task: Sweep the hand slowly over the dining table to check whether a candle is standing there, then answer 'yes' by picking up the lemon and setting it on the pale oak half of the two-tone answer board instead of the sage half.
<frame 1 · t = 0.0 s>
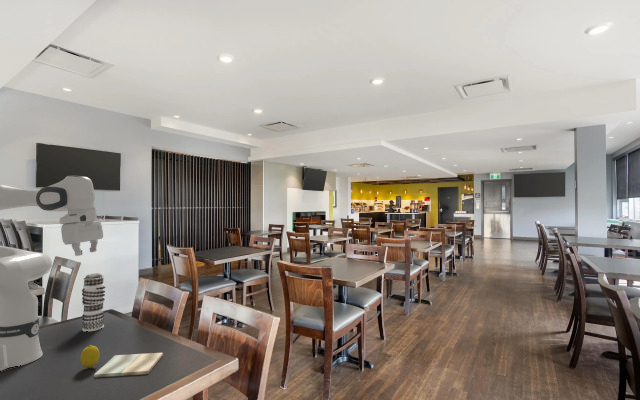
hand: (86, 253, 125), 39 cm above the table, tool pointing down, fingers open, 8 cm apart
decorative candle: (93, 328, 153), on the table
answer board: (130, 365, 117), on the table
lemon: (89, 368, 115), on the table
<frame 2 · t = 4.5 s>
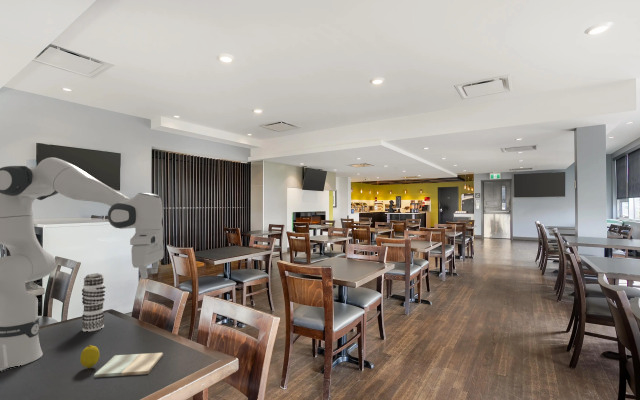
hand: (149, 275, 118), 32 cm above the table, tool pointing down, fingers open, 8 cm apart
nothing on the table moved.
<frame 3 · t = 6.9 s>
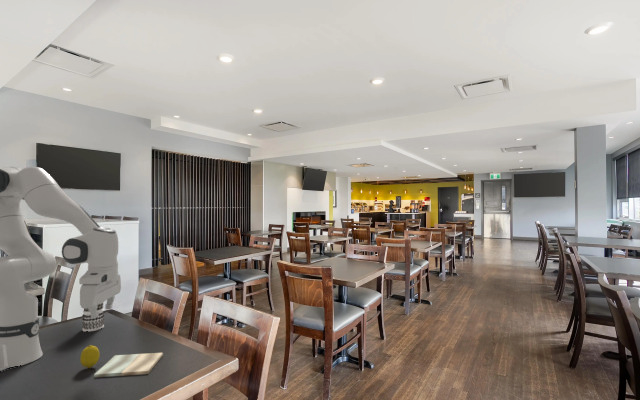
hand: (102, 313, 115), 19 cm above the table, tool pointing down, fingers open, 8 cm apart
nothing on the table moved.
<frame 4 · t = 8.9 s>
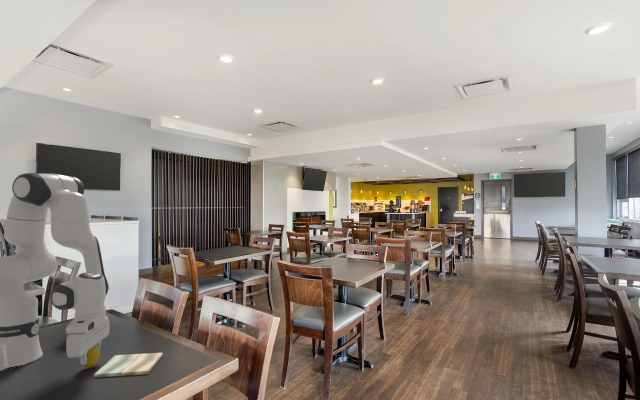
hand: (90, 359, 115), 3 cm above the table, tool pointing down, fingers closed on lemon, 6 cm apart
lemon: (89, 368, 115), on the table, touching gripper
everything else where it was.
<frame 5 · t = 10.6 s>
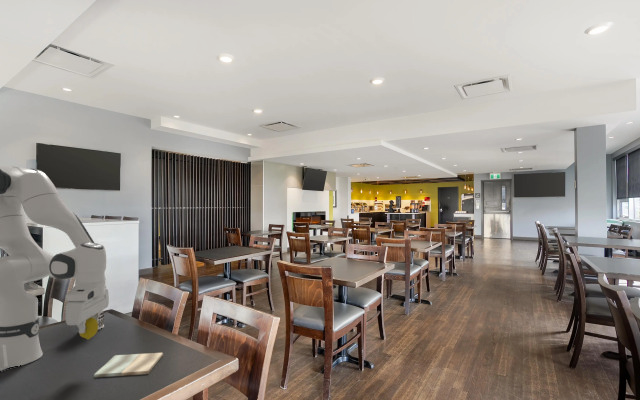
hand: (88, 328, 115), 14 cm above the table, tool pointing down, fingers closed on lemon, 5 cm apart
lemon: (88, 340, 115), point 10 cm above the table, touching gripper
everything else where it was.
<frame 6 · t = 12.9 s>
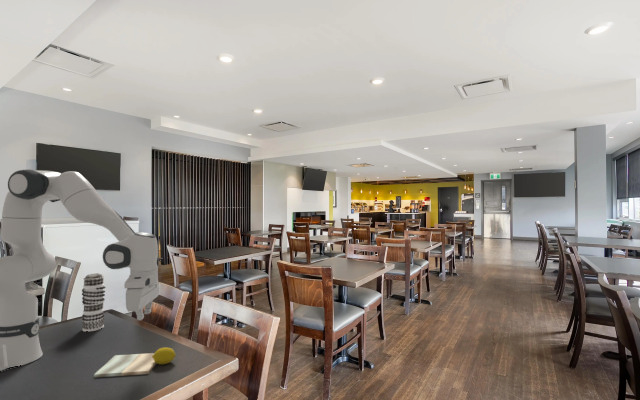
hand: (144, 316, 117), 17 cm above the table, tool pointing down, fingers open, 5 cm apart
lemon: (151, 356, 117), point 3 cm above the table, touching answer board
everything else where it was.
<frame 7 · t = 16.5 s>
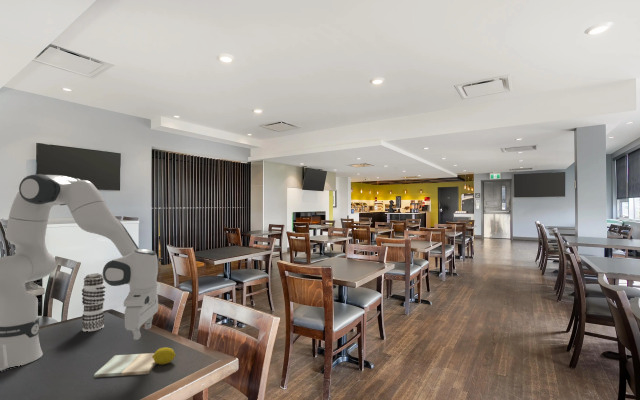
hand: (142, 333, 117), 11 cm above the table, tool pointing down, fingers open, 8 cm apart
nothing on the table moved.
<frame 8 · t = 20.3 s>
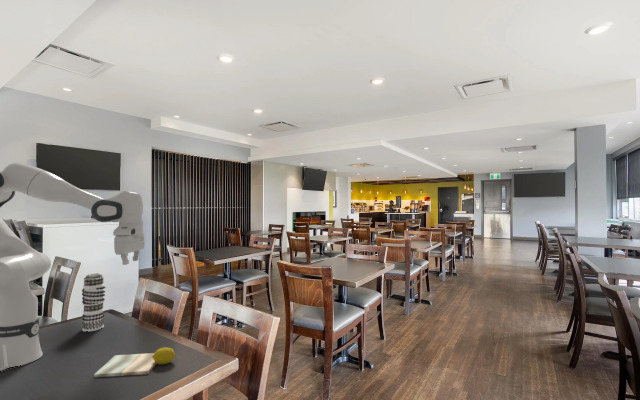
hand: (130, 262, 138), 33 cm above the table, tool pointing down, fingers open, 8 cm apart
nothing on the table moved.
at the end: lemon inside the target area (2.0 cm from its centre), point 2.7 cm above the table; the gripper is holding nothing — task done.
